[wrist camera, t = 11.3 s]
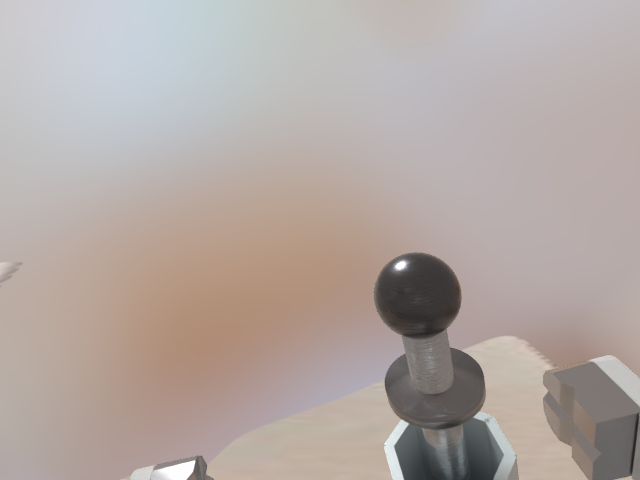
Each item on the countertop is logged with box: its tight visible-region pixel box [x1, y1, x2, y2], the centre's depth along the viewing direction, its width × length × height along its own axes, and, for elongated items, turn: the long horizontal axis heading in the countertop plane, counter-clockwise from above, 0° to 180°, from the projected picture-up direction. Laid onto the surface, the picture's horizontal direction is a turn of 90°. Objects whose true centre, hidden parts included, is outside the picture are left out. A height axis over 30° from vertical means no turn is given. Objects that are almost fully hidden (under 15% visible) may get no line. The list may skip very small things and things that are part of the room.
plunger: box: [374, 253, 486, 480], centre depth 29 cm, size 6×6×26 cm
